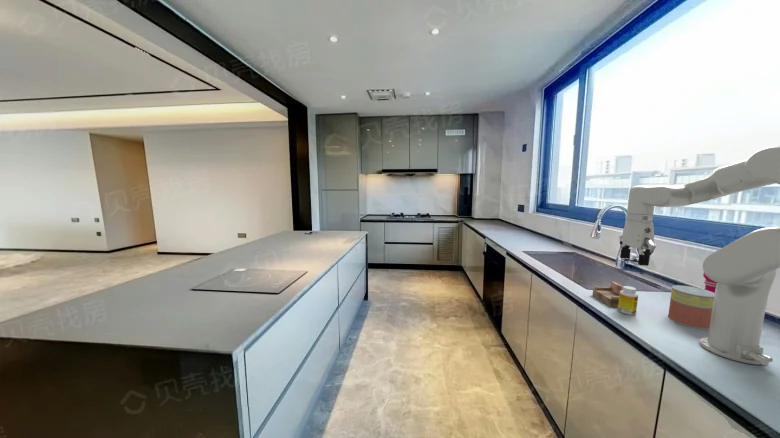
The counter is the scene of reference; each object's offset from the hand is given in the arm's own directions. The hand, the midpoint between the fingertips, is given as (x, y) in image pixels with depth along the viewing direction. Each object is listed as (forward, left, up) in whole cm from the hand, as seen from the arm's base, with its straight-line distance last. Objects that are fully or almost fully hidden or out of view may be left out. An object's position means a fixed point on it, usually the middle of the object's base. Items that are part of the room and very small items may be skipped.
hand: (633, 261), depth 107 cm
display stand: (+11, 0, -21) cm, 23 cm away
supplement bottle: (0, +1, -21) cm, 21 cm away
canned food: (-5, -17, -21) cm, 28 cm away
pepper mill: (+2, -30, -21) cm, 37 cm away
